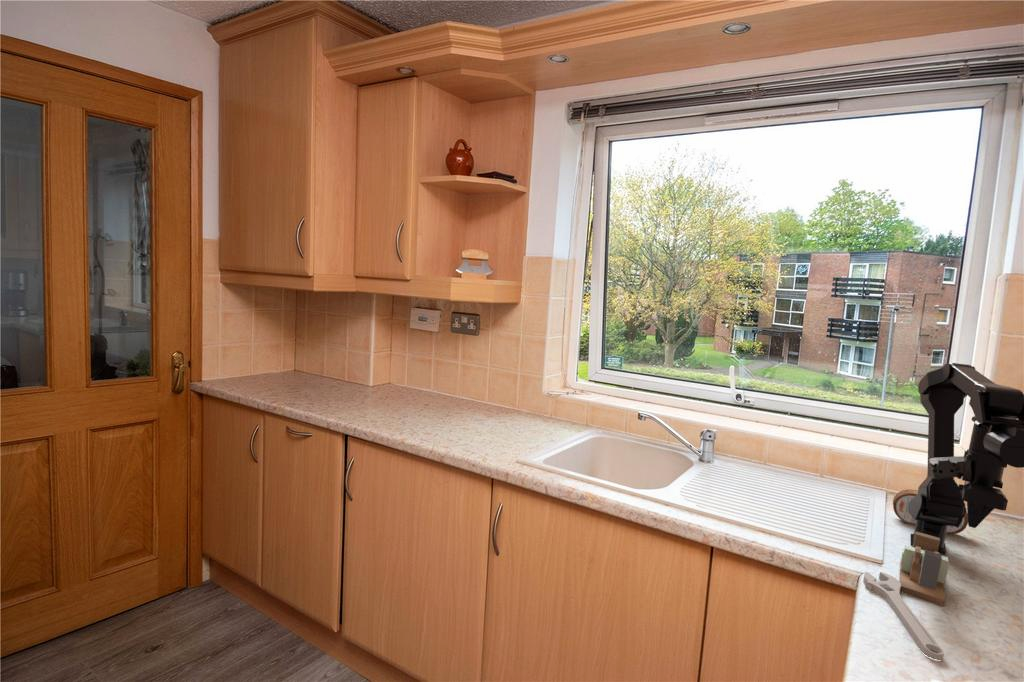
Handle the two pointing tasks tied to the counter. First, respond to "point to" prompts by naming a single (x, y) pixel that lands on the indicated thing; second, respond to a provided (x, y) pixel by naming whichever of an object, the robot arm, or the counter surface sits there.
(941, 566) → the spacer
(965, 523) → the tin
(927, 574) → the shaft
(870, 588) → the adjustable wrench
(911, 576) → the stand
